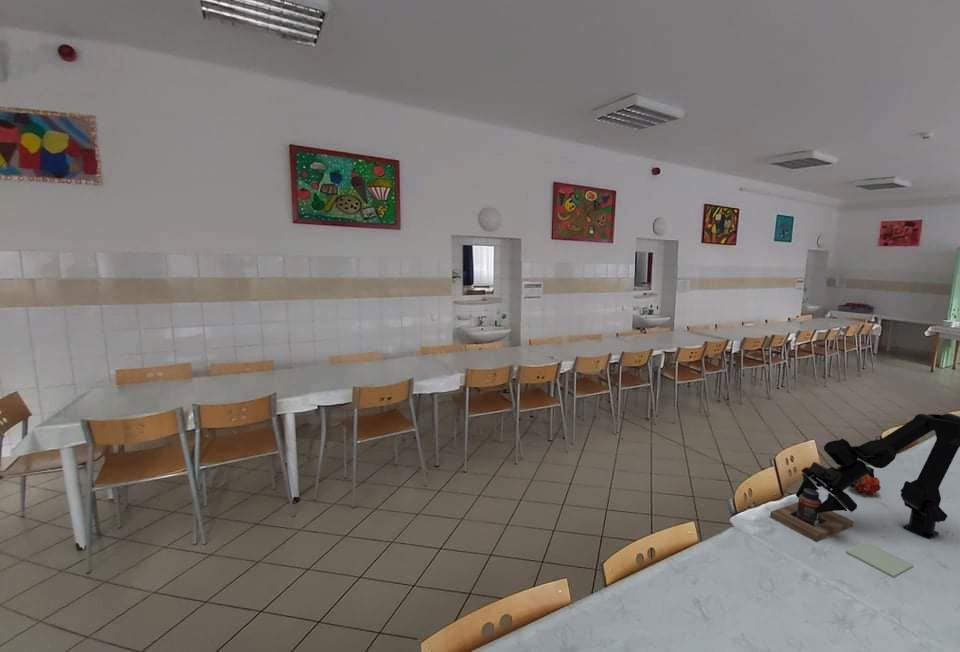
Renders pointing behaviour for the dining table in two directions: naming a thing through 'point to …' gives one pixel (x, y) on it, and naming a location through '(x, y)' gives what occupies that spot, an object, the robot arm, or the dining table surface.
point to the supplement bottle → (809, 507)
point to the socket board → (827, 526)
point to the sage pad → (880, 559)
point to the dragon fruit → (867, 485)
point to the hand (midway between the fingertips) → (805, 503)
